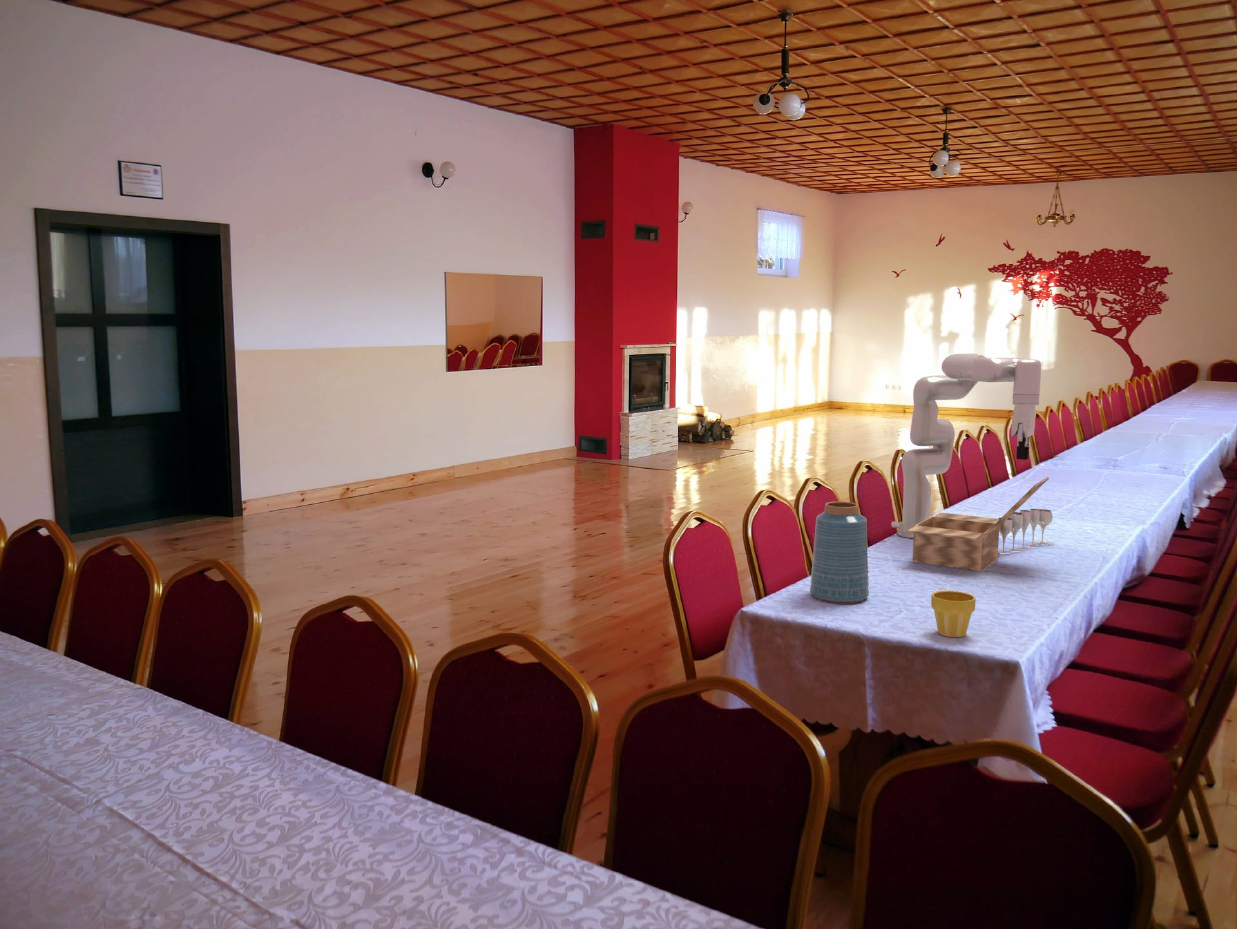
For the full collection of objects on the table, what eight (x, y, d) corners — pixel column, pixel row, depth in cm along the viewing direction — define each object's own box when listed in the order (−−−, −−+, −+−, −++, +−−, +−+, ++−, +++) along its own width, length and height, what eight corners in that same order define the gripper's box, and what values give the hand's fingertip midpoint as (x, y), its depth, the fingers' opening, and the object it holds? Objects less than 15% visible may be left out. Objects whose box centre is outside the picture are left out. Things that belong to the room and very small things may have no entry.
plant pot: (937, 624, 249) (938, 587, 248) (978, 631, 244) (980, 593, 242) (924, 635, 241) (926, 597, 240) (967, 642, 235) (969, 603, 234)
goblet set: (1006, 556, 321) (1008, 516, 319) (991, 552, 326) (993, 514, 324) (1054, 544, 337) (1056, 507, 335) (1039, 541, 342) (1041, 504, 340)
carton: (904, 566, 307) (905, 529, 306) (937, 546, 335) (939, 512, 333) (975, 577, 295) (977, 538, 293) (1003, 554, 322) (1005, 519, 320)
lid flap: (1034, 484, 289) (1036, 486, 289) (1047, 476, 304) (1049, 478, 303) (984, 533, 300) (986, 535, 299) (999, 523, 314) (1001, 525, 314)
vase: (835, 608, 264) (838, 511, 260) (798, 593, 278) (800, 502, 274) (881, 599, 272) (884, 506, 268) (842, 586, 286) (845, 497, 282)
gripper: (1018, 397, 304) (1015, 455, 307) (1006, 401, 292) (1003, 461, 295) (1044, 398, 300) (1040, 457, 303) (1033, 402, 288) (1029, 463, 291)
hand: (1022, 459), depth 299 cm, fingers closed
